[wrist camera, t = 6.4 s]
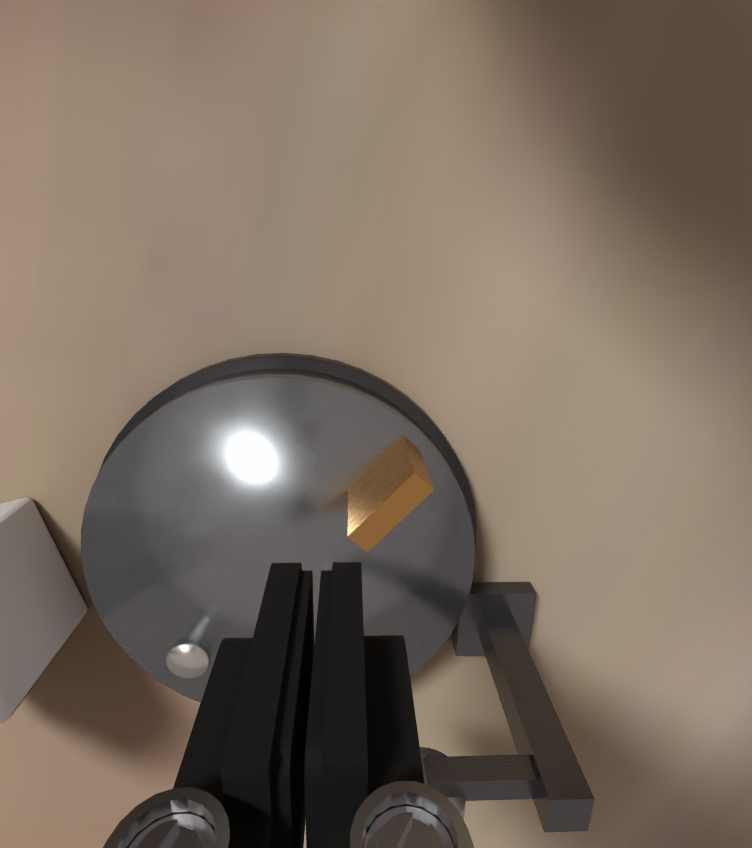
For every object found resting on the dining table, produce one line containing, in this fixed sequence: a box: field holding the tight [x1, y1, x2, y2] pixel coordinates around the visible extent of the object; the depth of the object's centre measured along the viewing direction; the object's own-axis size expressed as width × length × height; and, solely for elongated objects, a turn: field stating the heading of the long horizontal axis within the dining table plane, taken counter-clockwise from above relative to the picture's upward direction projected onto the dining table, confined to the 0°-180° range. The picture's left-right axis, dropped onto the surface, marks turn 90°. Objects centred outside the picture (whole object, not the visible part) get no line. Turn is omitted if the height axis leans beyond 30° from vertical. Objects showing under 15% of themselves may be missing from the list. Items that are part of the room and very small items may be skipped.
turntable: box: [81, 368, 475, 703], centre depth 23 cm, size 18×18×6 cm
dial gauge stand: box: [420, 582, 594, 832], centre depth 24 cm, size 4×9×11 cm, turn 89°
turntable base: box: [99, 353, 476, 542], centre depth 26 cm, size 19×19×1 cm
